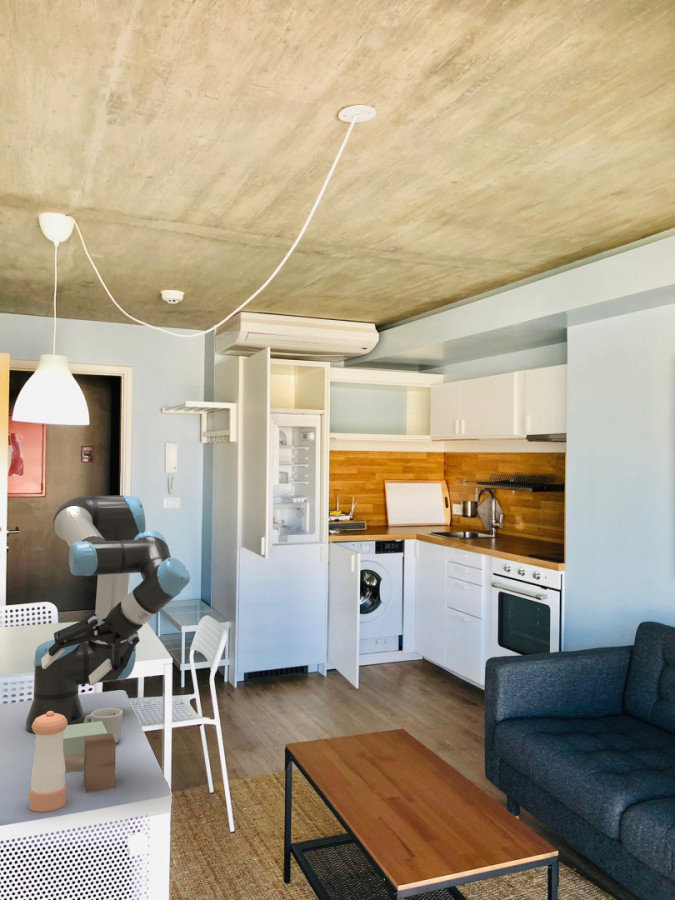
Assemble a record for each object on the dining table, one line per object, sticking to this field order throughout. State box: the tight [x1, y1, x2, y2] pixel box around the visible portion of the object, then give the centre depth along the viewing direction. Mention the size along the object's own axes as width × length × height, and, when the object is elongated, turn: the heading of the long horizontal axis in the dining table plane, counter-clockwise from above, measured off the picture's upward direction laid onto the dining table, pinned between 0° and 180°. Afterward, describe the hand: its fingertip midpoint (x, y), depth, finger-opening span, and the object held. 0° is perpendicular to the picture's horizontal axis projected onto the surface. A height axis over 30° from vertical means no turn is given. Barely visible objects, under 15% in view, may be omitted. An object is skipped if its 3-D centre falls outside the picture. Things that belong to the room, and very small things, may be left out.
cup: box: [84, 707, 124, 744], centre depth 192 cm, size 11×8×8 cm
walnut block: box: [83, 734, 117, 793], centre depth 165 cm, size 6×6×10 cm
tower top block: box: [63, 721, 107, 756], centre depth 178 cm, size 10×10×4 cm
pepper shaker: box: [28, 711, 68, 813], centre depth 155 cm, size 7×7×19 cm
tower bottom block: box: [64, 753, 84, 773], centre depth 178 cm, size 10×10×4 cm
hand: (67, 672), depth 169 cm, fingers open, 13 cm apart
